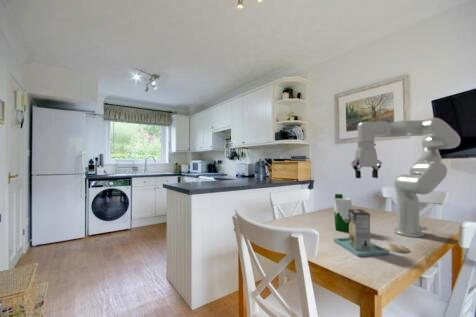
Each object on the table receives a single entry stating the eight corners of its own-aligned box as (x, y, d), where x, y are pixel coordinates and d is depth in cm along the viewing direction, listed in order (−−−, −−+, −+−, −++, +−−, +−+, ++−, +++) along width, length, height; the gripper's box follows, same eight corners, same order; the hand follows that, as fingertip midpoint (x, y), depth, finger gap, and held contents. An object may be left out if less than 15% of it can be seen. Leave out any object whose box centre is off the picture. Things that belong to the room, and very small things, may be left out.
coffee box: (348, 243, 106) (347, 208, 106) (363, 243, 105) (362, 209, 105) (355, 250, 97) (354, 213, 97) (371, 251, 96) (370, 213, 96)
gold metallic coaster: (397, 244, 105) (396, 243, 105) (414, 252, 96) (414, 251, 96) (379, 245, 103) (379, 244, 103) (395, 253, 95) (395, 252, 95)
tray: (360, 239, 111) (360, 236, 111) (389, 254, 94) (389, 251, 94) (333, 241, 110) (333, 238, 110) (358, 256, 92) (358, 253, 92)
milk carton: (336, 226, 135) (335, 193, 135) (352, 228, 130) (352, 194, 130) (333, 230, 127) (333, 195, 128) (351, 232, 122) (350, 196, 123)
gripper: (375, 146, 123) (376, 177, 123) (346, 146, 121) (347, 177, 121) (386, 145, 116) (387, 178, 115) (355, 145, 113) (356, 178, 113)
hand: (366, 178), depth 118 cm, fingers open, 9 cm apart
